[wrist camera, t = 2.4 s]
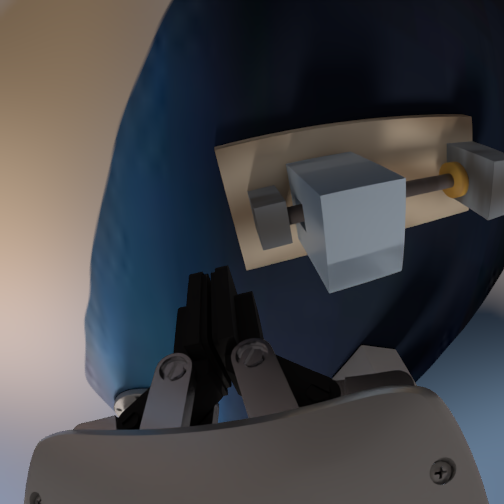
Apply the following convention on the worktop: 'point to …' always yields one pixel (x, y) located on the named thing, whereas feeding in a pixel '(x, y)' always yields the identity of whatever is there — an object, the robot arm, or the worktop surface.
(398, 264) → the sleeve
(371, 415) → the robot arm
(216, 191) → the worktop surface
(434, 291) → the worktop surface
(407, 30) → the worktop surface
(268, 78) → the worktop surface
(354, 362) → the milk carton
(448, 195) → the slider mechanism
